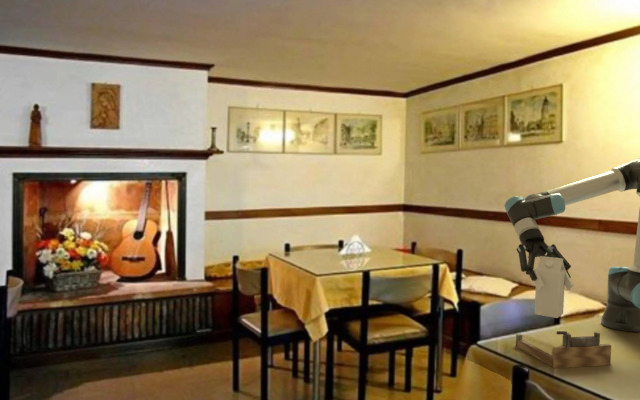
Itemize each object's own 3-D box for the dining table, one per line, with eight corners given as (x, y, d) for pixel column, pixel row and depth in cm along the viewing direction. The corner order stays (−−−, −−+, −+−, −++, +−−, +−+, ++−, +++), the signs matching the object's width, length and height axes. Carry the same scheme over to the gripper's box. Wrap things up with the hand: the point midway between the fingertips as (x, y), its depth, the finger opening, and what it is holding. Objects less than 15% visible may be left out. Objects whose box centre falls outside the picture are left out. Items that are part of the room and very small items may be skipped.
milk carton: (540, 310, 173) (543, 254, 172) (563, 314, 169) (565, 257, 168) (534, 314, 168) (536, 257, 167) (557, 318, 163) (560, 259, 162)
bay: (566, 343, 174) (567, 312, 173) (612, 365, 153) (614, 330, 153) (515, 345, 170) (516, 314, 170) (556, 369, 150) (557, 333, 149)
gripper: (552, 240, 184) (580, 293, 169) (495, 240, 180) (519, 295, 165) (563, 227, 179) (593, 281, 164) (504, 227, 174) (529, 282, 160)
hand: (556, 288), depth 165 cm, fingers closed on milk carton, 10 cm apart
